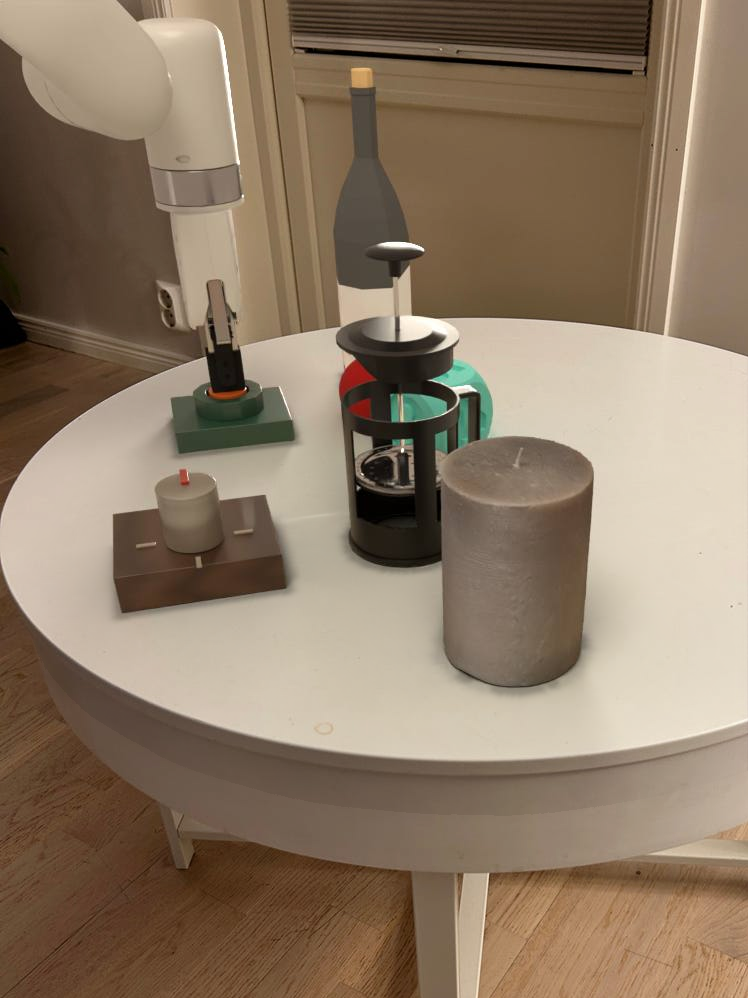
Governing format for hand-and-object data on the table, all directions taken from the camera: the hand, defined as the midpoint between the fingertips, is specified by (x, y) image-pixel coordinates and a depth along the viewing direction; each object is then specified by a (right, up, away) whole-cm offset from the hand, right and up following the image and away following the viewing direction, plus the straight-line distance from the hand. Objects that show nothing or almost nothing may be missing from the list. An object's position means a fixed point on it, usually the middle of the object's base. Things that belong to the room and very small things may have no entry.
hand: (228, 388), depth 97 cm
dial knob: (+3, -17, -22) cm, 28 cm away
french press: (+19, -16, -15) cm, 29 cm away
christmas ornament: (+14, -3, +4) cm, 15 cm away
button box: (0, -3, +2) cm, 4 cm away
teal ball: (+20, -7, -2) cm, 21 cm away
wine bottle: (+13, +5, +14) cm, 20 cm away
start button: (0, -1, +1) cm, 2 cm away
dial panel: (+3, -19, -19) cm, 27 cm away
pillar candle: (+27, -25, -27) cm, 46 cm away
